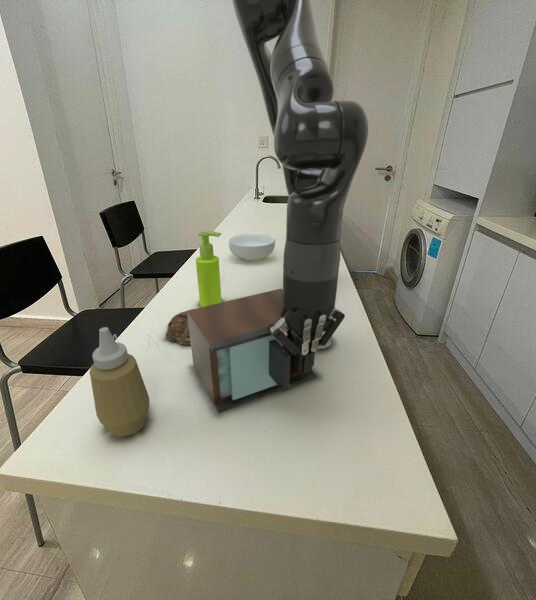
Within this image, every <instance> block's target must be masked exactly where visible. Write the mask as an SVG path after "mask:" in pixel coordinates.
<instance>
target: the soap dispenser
mask: <svg viewBox="0 0 536 600" xmlns="http://www.w3.org/2000/svg"><path fill="white" fill-rule="evenodd" d="M221 235H222V233H221V232H219V231H212V230H211V231H210V230H208V231H200V232H199V233H198V237H201V242H202V243H201V244H199V256H198V257H196V258H195V266H196V275H197V287H198V297H199V305H200V307H205V306H209V305H213V304H217V303H222V302H223V301H222V289H221V287H222V285H221V273H220V272H221V271H220V258H219V257H218V256H217V255H214V245H213V244H212V243H210V237H215V238H219V237H221Z"/></svg>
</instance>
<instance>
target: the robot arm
mask: <svg viewBox="0 0 536 600" xmlns="http://www.w3.org/2000/svg"><path fill="white" fill-rule="evenodd" d="M232 5H233V9H234V13H235V16H236V20H237V23H238V26H239V29H240V32H241V35H242V38H243V40H244V44H245V46H246V49H247V52H248V55H249V57H250V61H251V63H252V66H253V69H254V71H255V72H254V73H255V75H256V79H257V80H258V84H259V88H260V91H261V95H262V98H263V102H264V106H265V110H266V114H267V115H266V116H267V119H268V122H269V126H270V128H271V132H272V135H273V150H274V155H275V156H276V159H277V160H278V162H280V164H281V166H282V167H281V168H282V172H283V178H284V182H285V183H284V184H285V188H286V192H287V195H288V198H287V203H286V221H285V222H286V224H285V225H286V226H285V228H286V229H285V242H284V250H283V261H282V262H283V264H282V290H283V301H284V307H283V310H282V312H281V319H280V320H279V321H278V322H277V323H276V324H275V325H273V324H270V325H268V327H267V330H268V331H269V332H270V333H271V334H272V335H273V336H274V337H275V338H276V339H277V340H278V341H279V342H280V343H281V344H282V345H284V346H285V347H286V348H287V349H288V350H289V351H290V352H291V353H292V354H293V355H295V359H294V360H295V361H294V364H295V366H296V367H297V368H298V369H299V370H300V371H301V372H302V373H304V372H307V371H310V370H312V371H313V367H314V364H315V355H316V352H317V351H318V350H317V349H318V346H320V345H322V346H324V345H326V344H327V342H328V341H329V339H330V338H331V336H332V337H333V335H334V333H335V332H336V331H337V329H338V328H339V326H340V325H341V323H342V322H343V320H344V319H345V317H346V314H345V313H343V312H342V311H341V310H340V309H338V308H336V307H335V308H334V304H333V303H334V302H335V299H336V300H337V289H338V283H339V281H338V280H339V272H340V263H341V234H342V225H343V216H344V215H343V214H344V207H345V204H346V201H347V197H348V194H349V191H350V189H351V186H352V184H353V180H354V177H355V175H356V172H357V170H358V168H359V165H360V162H361V160H362V158H363V154H364V151H365V149H366V146H367V142H368V137H369V121H368V117H367V114H366V111H365V110H364V107H362V105H361V104H359V102H357V101H354V100H333V96H334V89H335V88H334V87H335V86H334V81H333V77H332V74H331V71H330V69H329V66H328V65H327V62H326V59H325V57H324V55H323V52H322V50H321V46H320V43H319V40H318V35H317V29H316V24H315V17H314V14H313V13H314V12H313V7H312V3H311V0H232ZM275 39H277V40H276V42H275V45H274V47H273V50H272V53H271V52H270V50H269V48H268V46H267V44H266V43H268V42H271V41H272V40H273V41H274V40H275ZM335 303H336V302H335ZM286 326H288V327H289V328H290V329H291V333H292V335H293V342H291V341H290V340H289V339H288V338H287V337H286V336H287V335H288V333H287V329H286ZM324 329H326V332H325V333H324V335H323V336H322V332H323V331H324Z"/></svg>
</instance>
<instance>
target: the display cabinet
mask: <svg viewBox="0 0 536 600" xmlns="http://www.w3.org/2000/svg"><path fill="white" fill-rule="evenodd" d="M283 307H284V301H283V288H277V289H272V290H270V291H268V290H267V291H264V292H260V293H256V294H252V295H247V296H244V297H239V298H235V299H230V300H227V301H222V303H217V304H213V305H209V306H205V307H201V306H200V307H196V308H191V309H192V310H191V309H188V310H186V311H187V316H188V325H189V333H190V341H191V345H190V348H191V356H192V365H193V368H194V371H195V373H196V375H197V377H198V378H199V380H200V382H201V384H202V386H203V387H204V390H205V391H206V393H207V395H208V396H209V399H210V400H211V403H212V405H213V407H214V409H215V410H216V412H217V413H221V412H224V411H226V410H227V411H228V410H229V409H232V408H234V407H237V406H240V405H243V404H246V403H248V402H252V401H254V400H257V399H260V398H263V397H265V396H268V395H272V394H274V393H277V392H279V391H282V390H281V389H280V387H279V386H278V385H275V386H272V387H269V388H267V389H264V390H261V391H258V392H255V393H252V394H250V395H247V396H244V397H241V398H238V399H235V400H233V399H232V393H231V376H230V359H229V347H232V346H235V345H239V344H242V343H245V342H249V341H252V340H256V339H259V338H263V337H266V336H270V335H272V334H271V333H270V332H269V331H268V330H267V327H268V325H270V324H273V325H275V324H276V323H277V322H278V321H279V320H280V319H281V312H282V310H283ZM286 329H287V333H288V335H287V336H286V337H287V338H288V339H289V340H290V341H291V342H293V335H292V333H291V329H290V328H289V327H288V326H286ZM283 348H284V349H285V350H286V351H287V352H288V353H289V354H290V355H291V360H290V383H289V388H290V387H293V386H296V385H298V384H301V383H304V382H306V381H309V380H312V379H314V378H317V373H315V371H313V369H312V370H310V371H307V372H304V373H302V372H301V371H300V370H299V369H298V368H297V367H296V366H295V364H294V361H295V360H294V359H295V355H293V354H292V353H291V352H290V351H289V350H288V349H287V348H286V347H285V346H284V345H283Z"/></svg>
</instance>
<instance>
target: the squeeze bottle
mask: <svg viewBox="0 0 536 600" xmlns="http://www.w3.org/2000/svg"><path fill="white" fill-rule="evenodd" d="M98 335H99V337H98V339H99V340H98V341H99V343H98V344H99V346H98V347H97V348H95V350H94V351H93V352H92V356H91V358H92V360H93V364H92V365H91V367H90V368H89V369H90V370H89V377H90V383H91V389H92V395H93V401H94V409H95V414H96V417H97V419H98V421H99V423H100V424H101V425H102V426H103V427H104V428H105V429H106V430H107V431H108V432H109V433H110V434H111V435H113V436H115V437H123V438H125V437H129V436H132V435H134V434H136V433H138V432H139V431H140V430H141V429H142V428H143V427H144V426H145V424H146V422H147V418H148V413H149V409H150V404H151V403H150V396H149V393H148V391H147V387H146V384H145V382H144V378H143V376H142V373H141V371H140V367H139V365H138V362H137V360H136V358H135V356H133V354H131V353H128V349H127V346H126V345H125V344H124V343H122V342H118V341H116V340H115V338H114V336H113V334H112V333H111V330H110V328H109V327H107V326H104V327H101V328H99V329H98Z"/></svg>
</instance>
